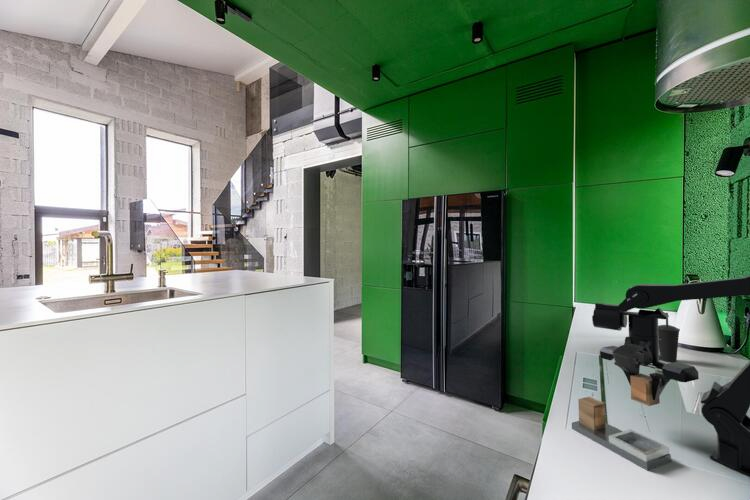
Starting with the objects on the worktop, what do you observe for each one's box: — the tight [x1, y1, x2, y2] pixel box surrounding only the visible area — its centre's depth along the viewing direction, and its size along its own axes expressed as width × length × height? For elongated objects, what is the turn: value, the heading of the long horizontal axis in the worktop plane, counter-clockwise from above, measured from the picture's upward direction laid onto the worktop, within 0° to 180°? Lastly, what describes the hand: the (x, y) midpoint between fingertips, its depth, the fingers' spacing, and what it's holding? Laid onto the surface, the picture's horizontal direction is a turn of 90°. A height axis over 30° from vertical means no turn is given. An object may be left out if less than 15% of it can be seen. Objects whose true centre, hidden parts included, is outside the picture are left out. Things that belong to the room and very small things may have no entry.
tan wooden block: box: [630, 372, 661, 407], centre depth 79 cm, size 4×4×6 cm
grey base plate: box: [571, 420, 672, 471], centre depth 75 cm, size 8×17×3 cm, turn 20°
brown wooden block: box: [578, 396, 606, 430], centre depth 80 cm, size 4×4×6 cm
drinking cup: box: [658, 312, 681, 363], centre depth 131 cm, size 8×8×20 cm
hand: (644, 396), depth 79 cm, fingers closed on tan wooden block, 4 cm apart
